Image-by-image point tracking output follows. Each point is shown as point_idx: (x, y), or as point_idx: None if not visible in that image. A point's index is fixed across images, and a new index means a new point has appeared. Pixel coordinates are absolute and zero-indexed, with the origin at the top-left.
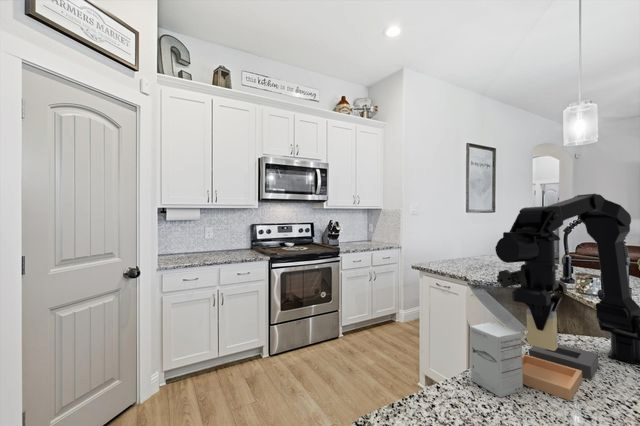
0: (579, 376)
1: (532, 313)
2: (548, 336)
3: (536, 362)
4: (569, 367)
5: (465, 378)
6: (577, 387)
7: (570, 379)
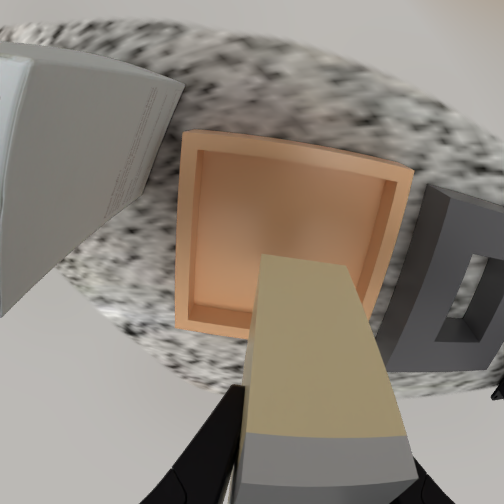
0: None
1: (159, 488)
2: None
3: (382, 219)
4: None
5: (92, 31)
6: None
7: None
